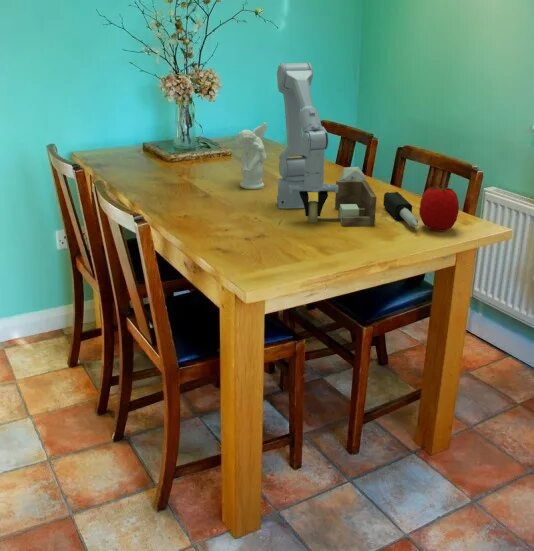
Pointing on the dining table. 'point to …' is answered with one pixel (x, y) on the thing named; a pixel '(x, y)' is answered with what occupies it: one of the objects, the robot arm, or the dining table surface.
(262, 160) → the cherub figurine
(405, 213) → the black and grey rod
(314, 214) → the pull block
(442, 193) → the red apple
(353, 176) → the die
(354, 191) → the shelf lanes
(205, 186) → the dining table surface
